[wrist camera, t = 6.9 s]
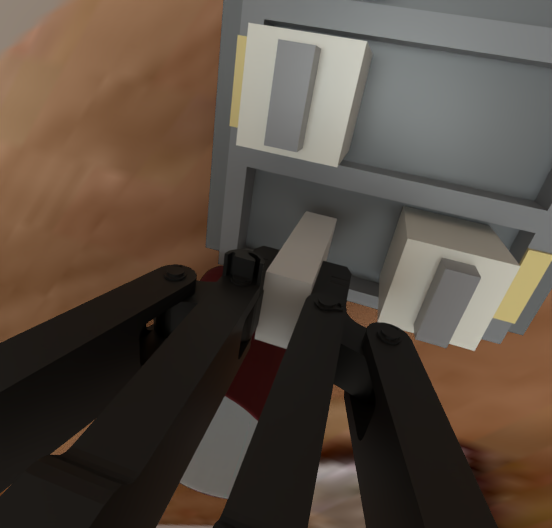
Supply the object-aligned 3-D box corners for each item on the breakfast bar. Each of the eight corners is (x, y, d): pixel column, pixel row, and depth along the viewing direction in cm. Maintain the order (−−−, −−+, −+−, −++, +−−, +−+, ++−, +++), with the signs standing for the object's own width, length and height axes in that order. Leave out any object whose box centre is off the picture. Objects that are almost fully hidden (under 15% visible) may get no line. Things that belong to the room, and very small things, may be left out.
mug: (183, 245, 24) (71, 334, 16) (295, 226, 21) (232, 323, 13) (230, 367, 28) (161, 491, 20) (331, 365, 25) (301, 509, 17)
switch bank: (219, 235, 23) (192, 258, 20) (255, -167, 15) (219, -238, 12) (511, 314, 20) (534, 356, 17) (769, -136, 12) (912, -222, 9)
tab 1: (269, 133, 18) (225, 148, 13) (282, 39, 16) (237, 17, 11) (349, 150, 17) (333, 172, 12) (372, 54, 15) (365, 36, 10)
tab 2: (379, 276, 19) (376, 336, 15) (403, 205, 17) (408, 248, 13) (456, 296, 19) (479, 367, 14) (489, 225, 17) (530, 278, 12)
